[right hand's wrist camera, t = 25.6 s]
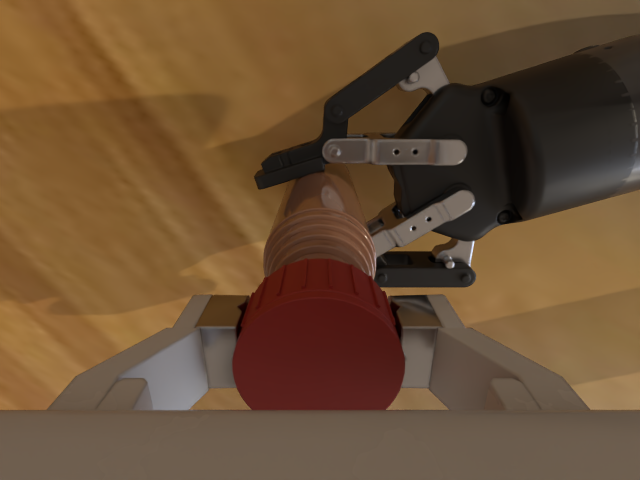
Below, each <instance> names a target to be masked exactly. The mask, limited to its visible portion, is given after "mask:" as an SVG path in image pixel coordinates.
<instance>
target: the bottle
mask: <svg viewBox="0 0 640 480" xmlns="http://www.w3.org/2000/svg"><path fill="white" fill-rule="evenodd" d="M328 258H331V260H337V261H341V262H344V263H347V264H350V265H351V264H353V265H354V267H356V268H358V269H360V270H361V271H363V272H365V273H366V274H367V275H368V276H370V275H371V276H372V277H373V280H374V277H375V272H376V250H375V246H374V243H373V240H372V237H371V234H370V231H369V228H368V225H367V223H366V220H365V217H364V214H363V211H362V208H361V205H360V203H359V200H358V197H357V194H356V191H355V188H354V185H353V182H352V180H351V177H350V174H349V171H348V169H347V167H346V165H345V164H344V163H330V164H326V165H325V170H324V171H320V172H317V173H314V174H309V175H306V176H304V177H301V178H297V179H294V180H291V181H289V183H288V186H287V189H286V191H285V194H284V197H283V199H282V202H281V205H280V207H279V210H278V213H277V215H276V218H275V221H274V223H273V226H272V229H271V231H270V234H269V237H268V239H267V242H266V245H265V249H264V274H265V277H268V276H270V275H271V274H272V273H273V272H275V271H277V270H278V269H280V268H282V266H283V265H288V264H291V263H294V262H297V261H301V260H304V259H328Z"/></svg>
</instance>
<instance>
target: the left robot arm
mask: <svg viewBox="0 0 640 480" xmlns="http://www.w3.org/2000/svg"><path fill="white" fill-rule="evenodd" d="M438 50H439V42H438V39H437V37H436V36H435V35H434V34H432V33H429V32H425V33H422V34H420V35H418V36H417V37H415V38H413V39H411V40H410V41H408V42H407V43H405V44H404V45H402V46H401V47H400V48H398V49H397V50H396V51H394V52H393V53H391V54H390V55H389V56H387V57H386V58H385V59H383V60H382V61H380V62H379V63H378V64H376V65H375V66H373V67H372V68H371V69H369V70H368V71H367V72H365V73H364V74H362V75H361V76H360V77H358V78H357V79H355V80H354V81H353V82H351V83H350V84H349V85H347V86H346V87H344V88H343V89H342V90H340V91H339V92H338V93H336V94H335V95H333V96H332V97H331V98H329V99H328V100H327V101H326V103H325V105H324V117H323V130H322V133H321V134H320V136H319V137H318V138H317V139H315V140H313V141H310V142H307V143H304V144H300V145H297V146H294V147H291V148H288V149H285V150H282V151H278V152H275V153H272V154H271V155H270V156H269V157H267V158H266V159H265V160H264V161H263V162H262V164H261V165H262V168H263V169H262V170H260V171H258V172H257V173H256V174H255V176H254V178H255V181H256V184H257V186H258V189H265V188H268V187H271V186H274V185H278V184H281V183H284V182H288V181H291V180H294V179H297V178H301V177H304V176H306V175H309V174H314V173H317V172H320V171H324V170H325V165H326V164H330V163H369V164H374V165H387V167H388V170H389V172H390V173H391V175H392V177H393V179H394V197H395V202H394V203H392V204H391V205H389V206H387V207H386V208H384V209H383V210H381V211H380V213H379V214H378V215H377V216H376V217H375V218H373V219H372V220H370V221H368V222H367V225H368V228H369V231H370V234H371V237H372V240H373V243H374V246H375V250H376V272H375V277H374V281H375V282H376V283H377V284H378V286H379V287H468V286H470V285H472V284H473V283H474V282H475V279H476V274H475V272H474V271H473V270H472V268H471V267H470V262H471V256H472V251H473V245H474V241H475V240H478V239H480V238H481V237H483V236H484V235H485V234H486V233H488V232H489V231H490V230H492V229H493V228H495V227H497V226H499V225H503V224H509V223H516V222H522V221H527V220H531V219H534V218H538V217H541V216H545V215H549V214H552V213H556V212H560V211H563V210H567V209H571V208H574V207H578V206H582V205H585V204H589V203H592V202H596V201H600V200H603V199H607V198H610V197H614V196H618V195H622V194H625V193H629V192H633V191H636V190H640V34H639V35H634V36H630V37H627V38H623V39H619V40H616V41H613V42H610V43H607V44H603V45H596V46H589V47H586V48H584V49H581V50H579V51H577V52H575V53H574V54H572V55H569V56H565V57H562V58H559V59H556V60H553V61H550V62H547V63H543V64H540V65H537V66H534V67H531V68H528V69H525V70H521V71H518V72H515V73H512V74H509V75H506V76H503V77H499V78H496V79H493V80H490V81H487V82H484V83H481V84H477V85H473V86H467V85H463V84H459V83H451V84H450V83H449V81H448V79H447V77H446V75H445V73H444V71H443V69H442V67H441V65H440V63H439V61H438V59H437V57H436V55H437V53H438ZM395 85H396V87H397V88H398V89H399V90H401V91H404V92H410V91H414V90H416V89H419V88H421V89H423V90H425V91H426V92H427V96H426V97H425V98H424V99H423V101H422V102H421V103H420V104H419V106H418V107H417V108H416V109H415V111H414V112H413V113H412V114H411V116H410V117H409V118H408V119H407V121H406V122H405V123H404V124H403V126H402V127H401V128H400V129H399V131H398V132H394V133H363V134H347V127H348V118H350V117H351V116H352V115H354V114H355V113H357V112H358V111H359V110H361V109H362V108H364V107H365V106H367V105H368V104H369V103H371V102H372V101H374V100H375V99H377V98H378V97H379V96H381V95H382V94H384V93H385V92H387V91H388V90H389V89H391V88H392V87H394V86H395ZM429 231H433V232H436V233H439V234H442V235H445V236H448V237H451V240H450V241H449V242H447V243H445V244H440V245H436V246H435V247H434V248H433V250H432V251H389V250H390V249H392V248H394V247H403V246H405V245H407V244H409V243H410V242H412V241H414V240H416V239H417V238H419V237H421V236H422V235H424V234H426V233H428V232H429Z"/></svg>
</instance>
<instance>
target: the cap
mask: <svg viewBox="0 0 640 480" xmlns="http://www.w3.org/2000/svg"><path fill="white" fill-rule="evenodd" d="M395 325H396V323H395V318H394V317H393V314H392V311H391V308H390V305H389V301H388V298H387V295H386V293H385V291H382V290H381V289H380V287H379V286H378V284H377V283H376V282H375V281H374V280H373V277H372V276H371V275H370V276H368V275H367V274H366V273H365V272H363V271H361V270H360V269H358V268H356V267H354V265H353V264H351V265H350V264H347V263H344V262H341V261H337V260H331V258H328V259H304V260H301V261H297V262H294V263H291V264H288V265H283V266H282V268H280V269H278V270H277V271H275V272H273V273H272V274H271V275H270V276H268V277H265V278H264V280H263V282H262V283H261V284H260V286H259V287H258V288H257V290H256V291H255V293H253V292H252V294H251V297H250V300H249V303H248V306H247V309H246V311H245V314H244V317H243V320H242V323H241V327H242V329H241V331H240V334H239V337H238V340H237V343H236V346H235V349H234V353H233V359H232V372H233V377H234V381H235V384H236V387H237V390H238V391H239V393H240V395H241V397H242V398H243V400H244V401H245V402H246V404H247V405H248V406H249V407H250V408H251V409H252V410H386V409H387V408H388V407H389V406H390V405H391V403H392V402H393V401H394V399H395V398H396V396H397V394H398V393H399V391H400V388H401V386H402V383H403V379H404V374H405V357H404V352H403V349H402V346H401V342H400V339H399V336H398V333H397V330H396V327H395Z"/></svg>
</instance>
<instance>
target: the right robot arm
mask: <svg viewBox="0 0 640 480" xmlns="http://www.w3.org/2000/svg"><path fill="white" fill-rule="evenodd" d="M249 300H250V297H249V295H194V296H192V298H191V299H190V301H189V303H188V304H187V306H186V307H185V309H184V310H183V312H182V313H181V315H180V317H179V318H178V320H177V321H176V323H175V324H174V326H173V328H166V329H164V330H162V331H160V332H158V333H156V334H154V335H152V336H151V337H149V338H147V339H145V340H143V341H141V342H139V343H137V344H136V345H134V346H132V347H130V348H128V349H126V350H124V351H122V352H121V353H119V354H117V355H115V356H113V357H111V358H109V359H107V360H106V361H104V362H102V363H100V364H98V365H96V366H94V367H92V368H91V369H89V370H87V371H85V372H83V373H81V374H79V375H77V376H76V377H75V378H74V379H73V380H72V381H71V382H70V384H69V385H68V386H67V387H66V388H65V389H64V390H63V392H62V393H61V394H60V395H59V396H58V397H57V398H56V400H55V401H54V402H53V403H52V404H51V405H50V406H49V408H48V409H47V410H0V480H640V410H590V409H589V408H588V406H587V405H586V404H585V403H584V402H583V401H582V399H581V398H580V397H579V396H578V395H577V394H576V392H575V391H574V390H573V389H572V388H571V387H570V385H569V384H568V383H567V382H566V381H565V380H564V378H563V377H561V376H560V375H558V374H556V373H554V372H552V371H550V370H548V369H547V368H545V367H543V366H541V365H539V364H537V363H535V362H534V361H532V360H530V359H528V358H526V357H524V356H522V355H521V354H519V353H517V352H515V351H513V350H511V349H509V348H508V347H506V346H504V345H502V344H500V343H498V342H496V341H495V340H493V339H491V338H489V337H487V336H485V335H483V334H482V333H480V332H478V331H476V330H474V329H472V328H465V326H464V325H463V323H462V322H461V320H460V318H459V317H458V315H457V314H456V312H455V311H454V309H453V307H452V306H451V304H450V303H449V301H448V300H447V298H446V297H445V296H444V295H442V294H440V295H403V296H388V301H389V305H390V308H391V311H392V314H393V317H394V318H395V323H396V325H395V327H396V330H397V333H398V336H399V339H400V342H401V346H402V349H403V352H404V357H405V374H404V379H403V383H402V386H401V388H429V390H430V391H431V392H432V393H433V394H434V395H435V396H436V397H437V398H438V399H439V400H440V401H441V402H442V403H443V404H444V405H445V406H446V407H447V408H448V409H449V410H189V409H190V408H191V407H192V406H193V405H194V404H195V403H196V402H197V401H198V400H199V399H200V398H201V397H202V396H203V395H204V394H205V393H206V392H207V391H208V390H209V388H237V387H236V384H235V381H234V377H233V372H232V359H233V353H234V349H235V346H236V343H237V340H238V337H239V334H240V331H241V329H242V327H241V323H242V320H243V317H244V314H245V311H246V309H247V306H248V303H249Z"/></svg>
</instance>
